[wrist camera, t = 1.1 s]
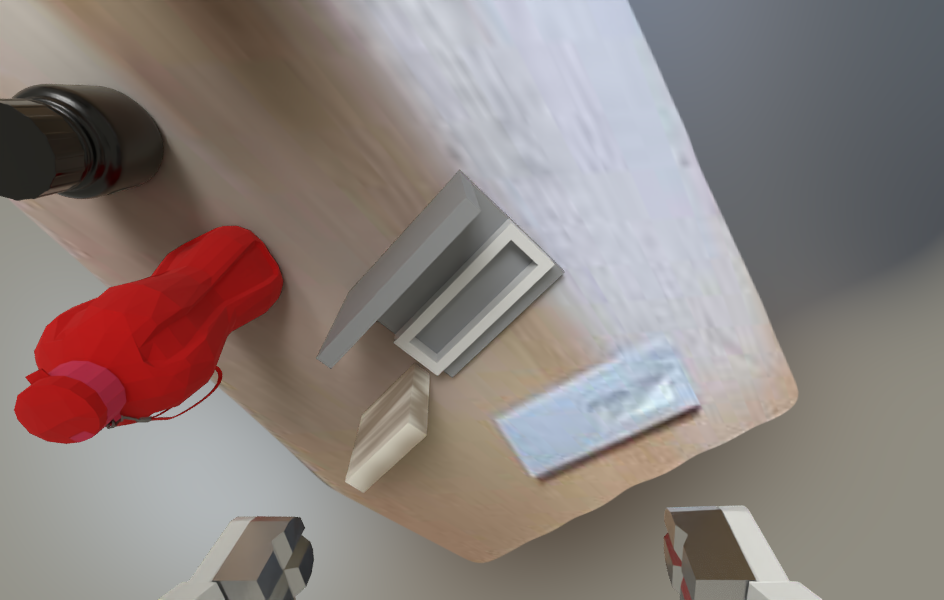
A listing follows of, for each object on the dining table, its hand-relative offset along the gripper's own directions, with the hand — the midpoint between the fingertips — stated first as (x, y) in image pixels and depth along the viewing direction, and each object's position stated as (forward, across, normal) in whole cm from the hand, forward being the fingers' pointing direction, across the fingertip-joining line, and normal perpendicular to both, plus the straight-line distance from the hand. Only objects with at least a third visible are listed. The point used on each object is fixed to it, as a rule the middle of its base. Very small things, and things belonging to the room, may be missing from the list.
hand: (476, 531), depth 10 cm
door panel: (+39, +16, +22) cm, 47 cm away
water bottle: (+36, +29, +4) cm, 47 cm away
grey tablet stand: (+40, +7, +8) cm, 41 cm away
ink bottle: (+35, +36, -11) cm, 51 cm away
